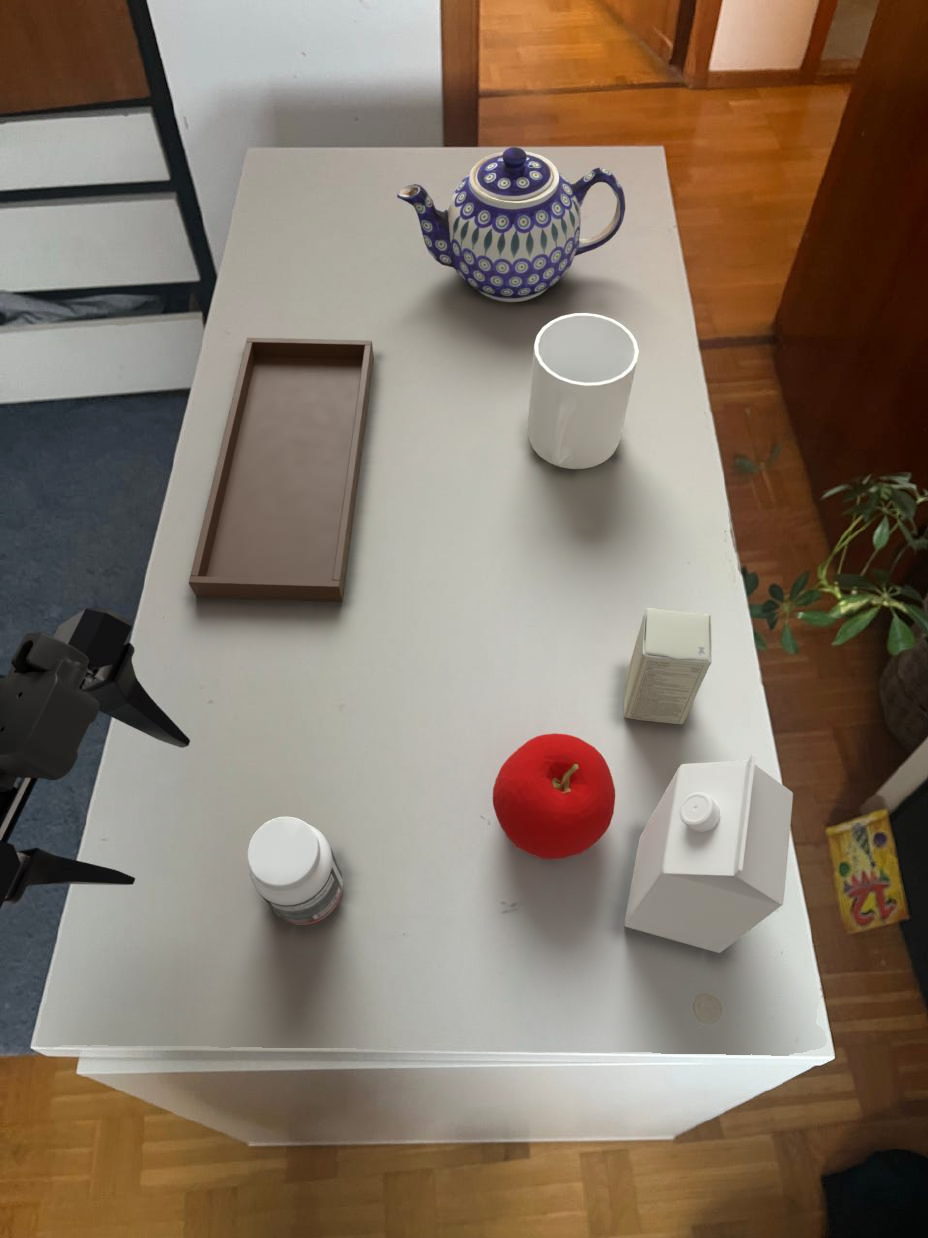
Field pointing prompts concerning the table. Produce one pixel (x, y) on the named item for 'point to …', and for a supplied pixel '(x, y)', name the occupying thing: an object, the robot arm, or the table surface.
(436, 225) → the teapot
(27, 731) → the robot arm
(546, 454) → the mug
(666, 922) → the milk carton
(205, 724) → the table surface
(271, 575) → the tray
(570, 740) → the fruit
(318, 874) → the pill bottle
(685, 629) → the box
